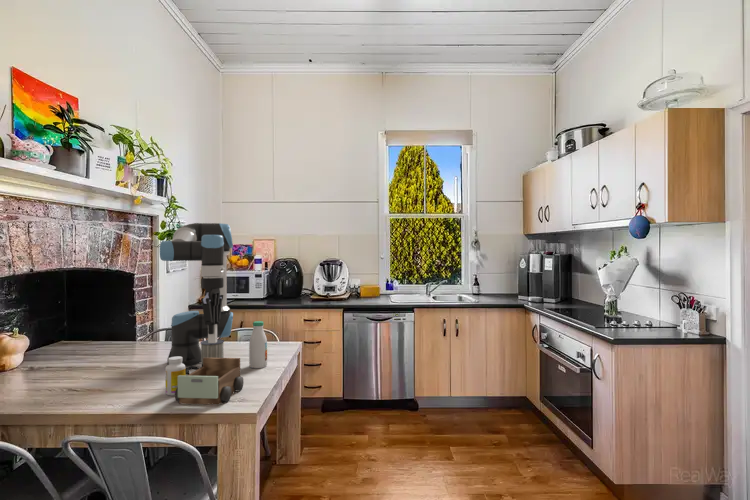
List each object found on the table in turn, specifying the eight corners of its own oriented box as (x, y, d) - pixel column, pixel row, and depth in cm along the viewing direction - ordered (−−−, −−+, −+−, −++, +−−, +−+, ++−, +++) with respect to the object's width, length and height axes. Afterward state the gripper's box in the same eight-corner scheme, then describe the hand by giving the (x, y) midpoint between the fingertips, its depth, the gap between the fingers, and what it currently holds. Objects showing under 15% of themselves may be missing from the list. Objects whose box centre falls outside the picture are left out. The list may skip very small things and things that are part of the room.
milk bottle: (262, 369, 182) (262, 323, 182) (246, 368, 184) (246, 322, 184) (270, 364, 190) (270, 320, 190) (254, 363, 191) (254, 320, 191)
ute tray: (174, 403, 142) (174, 371, 142) (200, 386, 160) (199, 357, 160) (224, 404, 141) (224, 372, 141) (245, 387, 159) (244, 358, 159)
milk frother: (226, 378, 169) (226, 342, 169) (184, 385, 161) (184, 346, 161) (219, 370, 181) (219, 336, 181) (179, 376, 173) (179, 340, 173)
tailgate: (176, 398, 140) (176, 376, 140) (179, 396, 141) (179, 375, 141) (216, 399, 139) (216, 377, 139) (218, 397, 140) (218, 376, 140)
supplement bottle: (189, 391, 154) (189, 356, 154) (175, 397, 148) (175, 360, 148) (175, 389, 156) (175, 354, 156) (161, 395, 150) (161, 359, 150)
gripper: (214, 278, 144) (214, 346, 144) (230, 276, 157) (230, 338, 157) (193, 278, 145) (193, 346, 145) (210, 276, 158) (211, 338, 158)
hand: (212, 342), depth 151 cm, fingers closed
